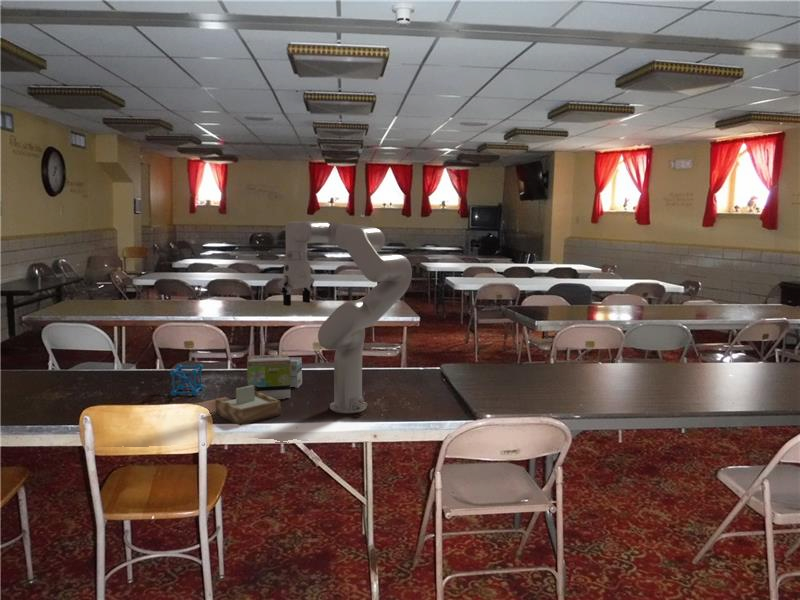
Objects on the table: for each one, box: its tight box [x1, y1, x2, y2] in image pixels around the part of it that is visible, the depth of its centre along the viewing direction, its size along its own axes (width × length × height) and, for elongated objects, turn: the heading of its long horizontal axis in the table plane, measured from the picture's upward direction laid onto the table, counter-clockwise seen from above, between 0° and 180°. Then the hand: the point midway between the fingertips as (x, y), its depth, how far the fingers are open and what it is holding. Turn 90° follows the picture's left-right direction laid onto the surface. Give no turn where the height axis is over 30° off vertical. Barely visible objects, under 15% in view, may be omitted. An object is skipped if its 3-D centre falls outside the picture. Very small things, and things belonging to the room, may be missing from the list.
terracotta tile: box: [194, 396, 232, 414], centre depth 214 cm, size 12×12×1 cm
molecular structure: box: [169, 363, 205, 397], centre depth 228 cm, size 10×10×10 cm
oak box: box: [215, 391, 282, 426], centre depth 205 cm, size 16×15×5 cm
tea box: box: [246, 354, 291, 400], centre depth 224 cm, size 15×10×15 cm
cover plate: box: [225, 385, 270, 409], centre depth 204 cm, size 13×12×6 cm
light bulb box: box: [288, 356, 303, 389], centre depth 239 cm, size 11×7×11 cm, turn 84°
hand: (296, 303), depth 221 cm, fingers open, 9 cm apart
